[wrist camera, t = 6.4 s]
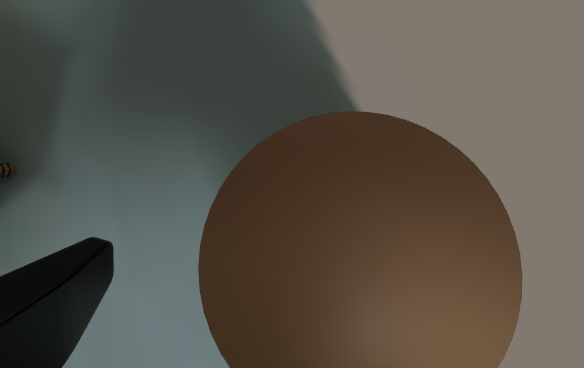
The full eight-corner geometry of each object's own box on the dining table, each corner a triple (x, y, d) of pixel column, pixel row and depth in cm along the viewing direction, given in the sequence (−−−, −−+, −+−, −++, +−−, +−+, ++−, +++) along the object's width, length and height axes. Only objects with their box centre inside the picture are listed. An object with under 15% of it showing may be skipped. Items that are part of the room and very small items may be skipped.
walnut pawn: (366, 354, 17) (528, 455, 6) (250, 343, 17) (174, 422, 6) (371, 238, 18) (516, 125, 7) (261, 228, 18) (220, 99, 7)
